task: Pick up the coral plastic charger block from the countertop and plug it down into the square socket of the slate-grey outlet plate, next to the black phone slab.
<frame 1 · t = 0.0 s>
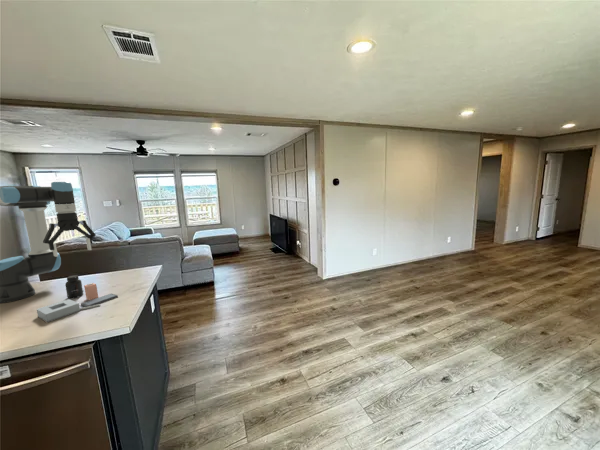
hand: (73, 253, 127), 28 cm above the worktop, fingers open, 13 cm apart
cable: (89, 308, 125), on the worktop
phone: (100, 301, 133), on the worktop
supplement bottle: (75, 296, 141), on the worktop
charger: (92, 298, 137), on the worktop
outlet plate: (59, 313, 120), on the worktop
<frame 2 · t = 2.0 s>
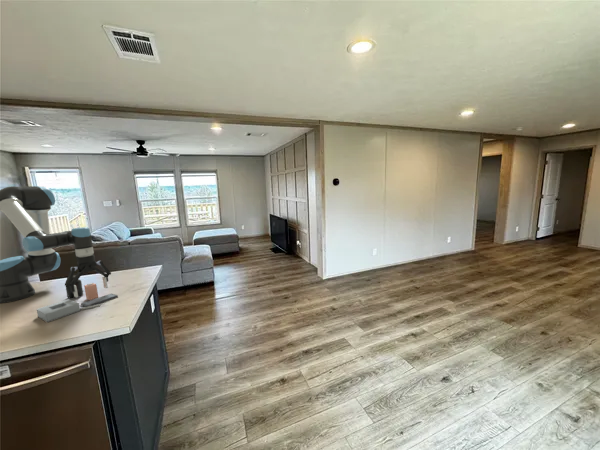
hand: (91, 292, 136), 4 cm above the worktop, fingers open, 13 cm apart
nothing on the worktop moved.
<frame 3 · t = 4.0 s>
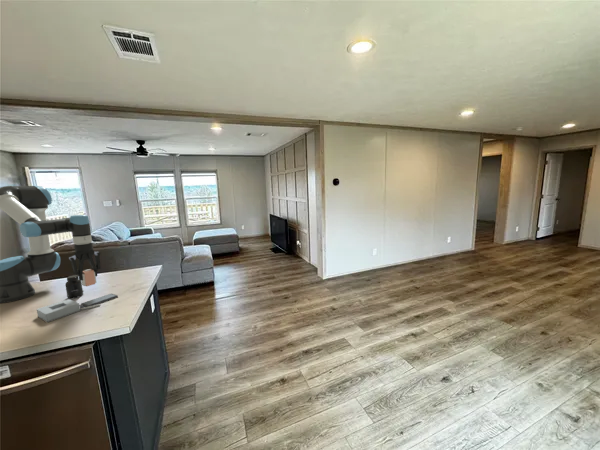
hand: (89, 283, 136), 8 cm above the worktop, fingers closed on charger, 4 cm apart
charger: (89, 284, 136), point 8 cm above the worktop, touching gripper
everything else where it was.
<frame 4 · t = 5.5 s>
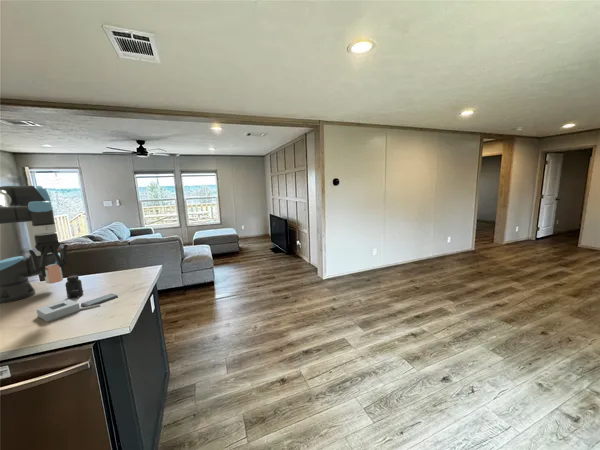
hand: (54, 281, 118), 17 cm above the worktop, fingers closed on charger, 4 cm apart
charger: (54, 281, 118), point 16 cm above the worktop, touching gripper
everything else where it was.
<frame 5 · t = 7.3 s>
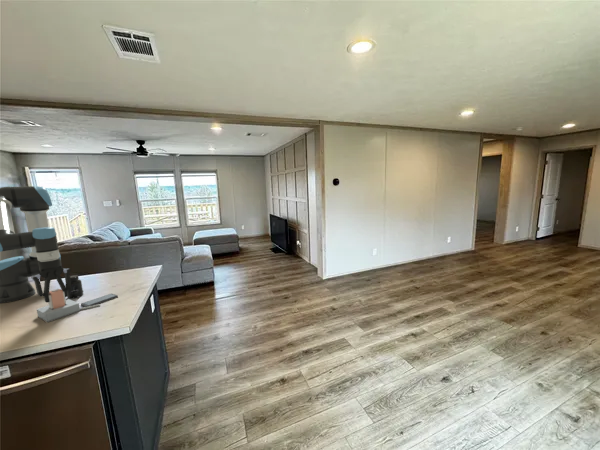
hand: (57, 305, 119), 4 cm above the worktop, fingers closed on charger, outlet plate, 4 cm apart
charger: (58, 306, 119), point 4 cm above the worktop, touching gripper
everything else where it was.
when the fingers open (4 cm above the worktop, at t = 8.8 s): charger drops 3 cm, resting on outlet plate.
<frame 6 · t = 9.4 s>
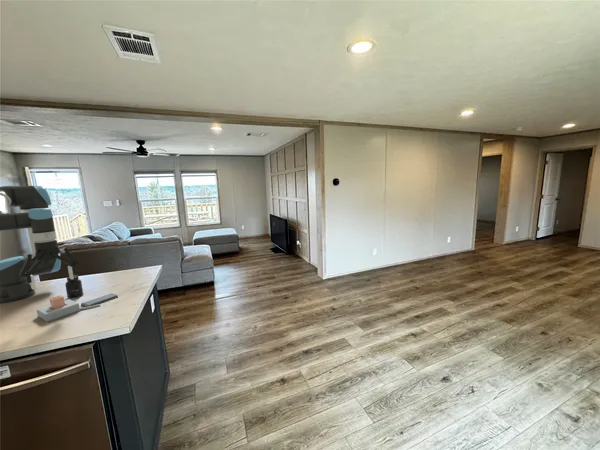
hand: (53, 283, 118), 16 cm above the worktop, fingers open, 13 cm apart
charger: (59, 312, 120), resting on outlet plate
everything else where it was.
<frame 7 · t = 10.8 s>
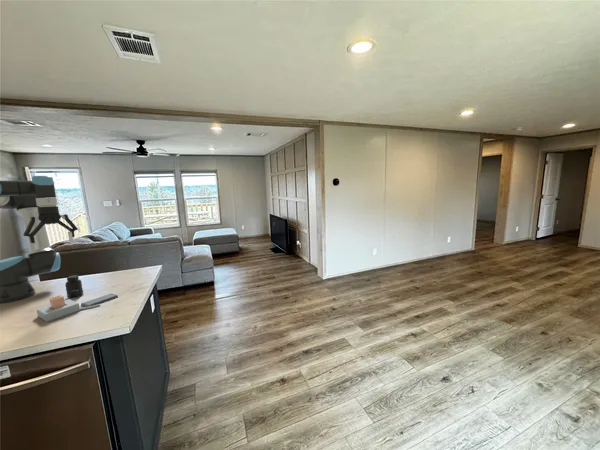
hand: (55, 246, 128), 31 cm above the worktop, fingers open, 13 cm apart
nothing on the worktop moved.
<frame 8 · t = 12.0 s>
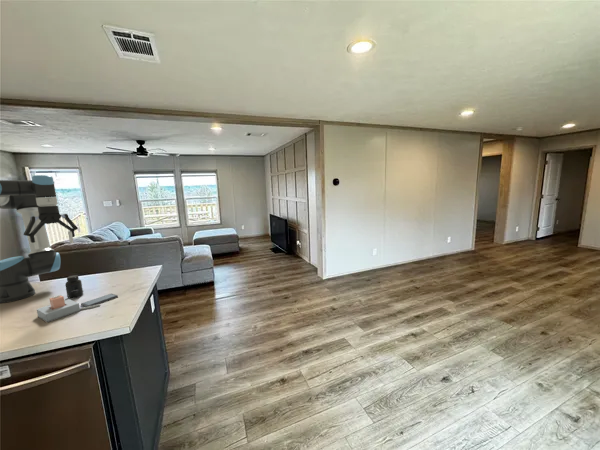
hand: (55, 245, 128), 32 cm above the worktop, fingers open, 13 cm apart
nothing on the worktop moved.
at the end: charger 0.1 cm off-centre on the outlet plate, point 0.5 cm above the outlet plate's base; charger tilted 0°; the gripper is holding nothing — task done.
